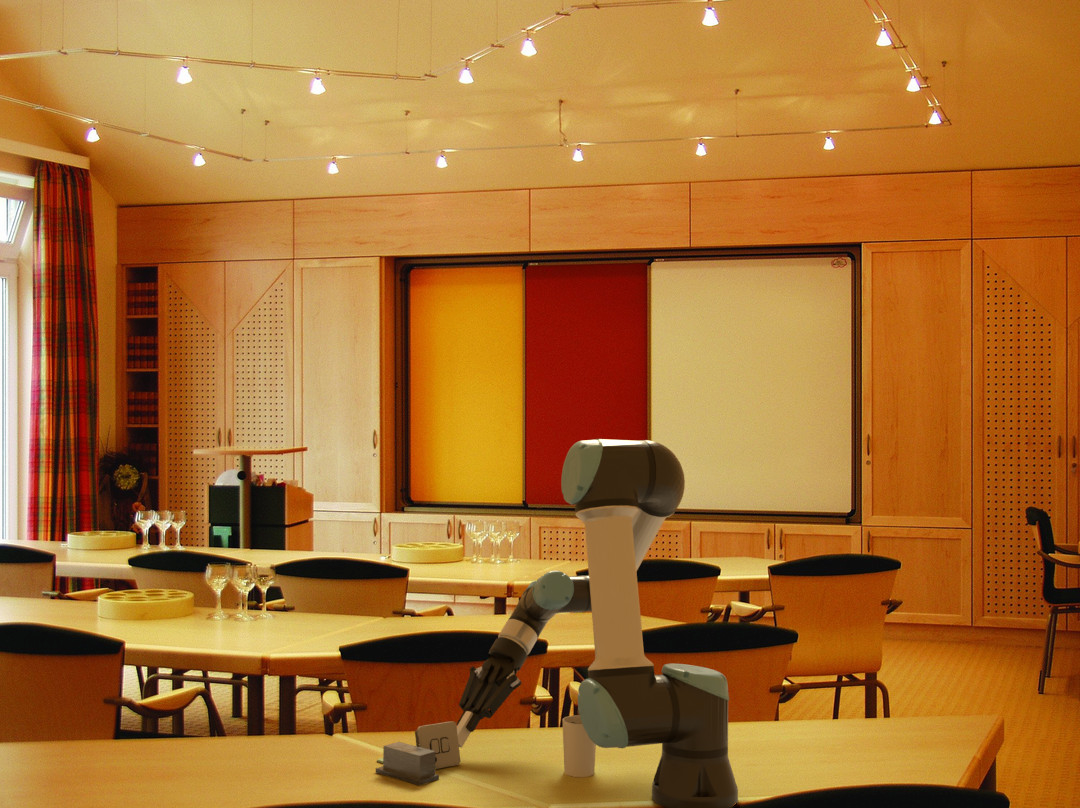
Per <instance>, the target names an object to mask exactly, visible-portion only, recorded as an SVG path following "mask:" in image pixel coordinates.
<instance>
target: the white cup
mask: <svg viewBox="0 0 1080 808" xmlns="http://www.w3.org/2000/svg"><path fill="white" fill-rule="evenodd" d="M562 741H563V766H564V767H563V768H564V769H563V772H564V774H565V775H566V776H570V777H575V778H586V777H591V776H593V775H594V774H595V766H596V749H597V748H596V746H597V745H596V744H594V743H593V742H592V741H591V739H590V738H589V736H588V734H587V733H586V731H585V729H584V727H583V724H582V721H581V718H580V715H569V716H565V717H564V718H562Z"/></svg>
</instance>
